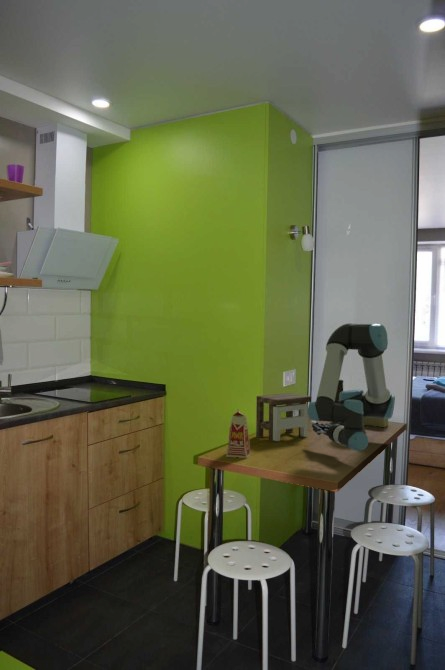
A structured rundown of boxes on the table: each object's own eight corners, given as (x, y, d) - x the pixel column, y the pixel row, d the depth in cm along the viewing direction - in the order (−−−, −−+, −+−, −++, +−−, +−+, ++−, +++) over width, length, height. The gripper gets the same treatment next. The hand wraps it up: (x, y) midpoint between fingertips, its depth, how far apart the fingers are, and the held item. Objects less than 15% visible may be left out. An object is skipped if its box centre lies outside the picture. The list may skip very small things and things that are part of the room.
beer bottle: (338, 423, 297) (339, 381, 296) (329, 421, 303) (330, 379, 303) (349, 422, 300) (350, 380, 300) (340, 420, 307) (340, 379, 306)
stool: (310, 437, 262) (311, 396, 261) (276, 442, 249) (277, 400, 248) (289, 431, 274) (289, 393, 274) (256, 436, 262) (256, 396, 261)
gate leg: (307, 436, 261) (307, 403, 261) (276, 441, 249) (276, 407, 249) (303, 435, 263) (304, 403, 263) (272, 440, 251) (273, 406, 251)
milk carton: (247, 458, 220) (247, 410, 219) (225, 457, 222) (226, 409, 221) (250, 453, 229) (251, 406, 228) (229, 451, 231) (230, 406, 230)
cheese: (344, 423, 297) (344, 397, 297) (349, 421, 305) (349, 395, 305) (384, 428, 286) (384, 400, 285) (388, 425, 294) (389, 398, 294)
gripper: (326, 444, 219) (299, 432, 241) (353, 442, 224) (324, 430, 246) (326, 426, 219) (299, 416, 241) (353, 424, 223) (324, 414, 246)
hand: (311, 423), depth 243 cm, fingers closed
